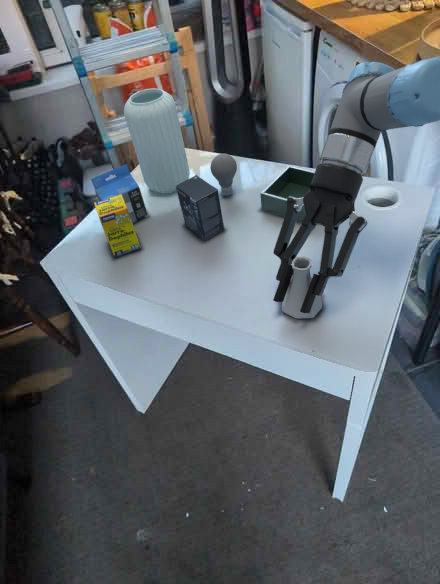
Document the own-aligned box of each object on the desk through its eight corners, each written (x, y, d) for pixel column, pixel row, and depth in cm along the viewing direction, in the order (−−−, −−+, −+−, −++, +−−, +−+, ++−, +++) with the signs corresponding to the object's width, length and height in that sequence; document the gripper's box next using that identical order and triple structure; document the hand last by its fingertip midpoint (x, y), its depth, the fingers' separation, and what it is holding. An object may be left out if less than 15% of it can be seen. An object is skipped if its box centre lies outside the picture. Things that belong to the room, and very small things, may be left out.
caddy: (336, 194, 97) (338, 177, 94) (310, 225, 91) (311, 207, 88) (288, 182, 103) (288, 165, 100) (261, 210, 97) (260, 193, 94)
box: (184, 225, 97) (174, 185, 89) (205, 214, 98) (197, 174, 91) (204, 242, 92) (195, 200, 84) (225, 230, 94) (218, 188, 86)
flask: (275, 315, 76) (273, 274, 68) (287, 286, 80) (286, 245, 73) (317, 324, 73) (319, 282, 66) (326, 293, 77) (329, 251, 70)
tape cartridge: (114, 233, 98) (95, 186, 89) (107, 225, 101) (89, 179, 92) (148, 216, 101) (134, 170, 92) (141, 209, 103) (127, 163, 94)
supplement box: (115, 259, 92) (98, 217, 84) (109, 243, 96) (93, 202, 88) (142, 249, 93) (127, 207, 85) (135, 234, 97) (121, 193, 89)
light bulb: (235, 202, 100) (230, 163, 93) (211, 199, 102) (204, 161, 95) (243, 187, 104) (239, 149, 97) (220, 185, 106) (214, 147, 99)
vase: (196, 172, 112) (179, 83, 96) (184, 198, 104) (163, 106, 88) (155, 172, 114) (131, 85, 99) (140, 197, 107) (112, 108, 91)
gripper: (399, 187, 68) (346, 326, 71) (300, 164, 76) (256, 289, 80) (391, 175, 61) (333, 327, 65) (284, 151, 70) (237, 288, 73)
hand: (291, 306), depth 72 cm, fingers closed on flask, 4 cm apart
